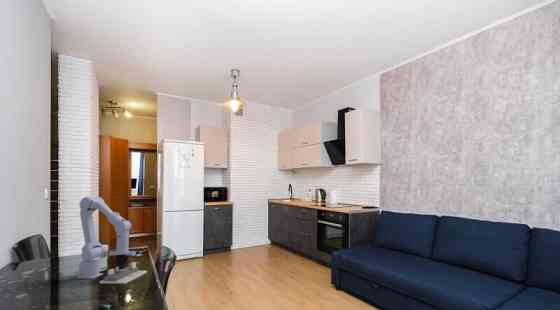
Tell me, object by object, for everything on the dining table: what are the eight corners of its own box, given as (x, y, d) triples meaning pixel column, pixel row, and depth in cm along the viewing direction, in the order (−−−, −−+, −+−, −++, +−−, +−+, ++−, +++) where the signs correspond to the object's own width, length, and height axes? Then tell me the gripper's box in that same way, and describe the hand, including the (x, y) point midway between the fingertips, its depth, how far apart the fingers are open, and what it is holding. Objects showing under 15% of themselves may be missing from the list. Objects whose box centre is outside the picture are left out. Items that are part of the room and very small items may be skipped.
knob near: (107, 275, 145) (107, 270, 145) (111, 273, 147) (111, 268, 148) (110, 275, 144) (110, 270, 145) (114, 273, 147) (114, 268, 147)
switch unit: (99, 283, 142) (99, 277, 143) (124, 272, 161) (124, 266, 161) (124, 283, 141) (125, 277, 141) (146, 272, 160) (147, 266, 160)
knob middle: (115, 271, 150) (115, 267, 151) (119, 270, 153) (119, 265, 154) (118, 271, 150) (118, 267, 151) (121, 270, 153) (121, 265, 153)
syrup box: (99, 271, 163) (101, 246, 165) (91, 271, 164) (92, 246, 166) (107, 269, 169) (108, 244, 171) (99, 268, 170) (100, 244, 172)
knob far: (129, 268, 156) (130, 264, 156) (133, 267, 159) (133, 262, 159) (132, 268, 156) (132, 264, 156) (135, 267, 158) (135, 262, 159)
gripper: (105, 245, 150) (103, 271, 149) (130, 244, 149) (129, 271, 147) (114, 242, 157) (113, 267, 156) (138, 242, 156) (137, 267, 154)
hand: (121, 269), depth 152 cm, fingers closed
